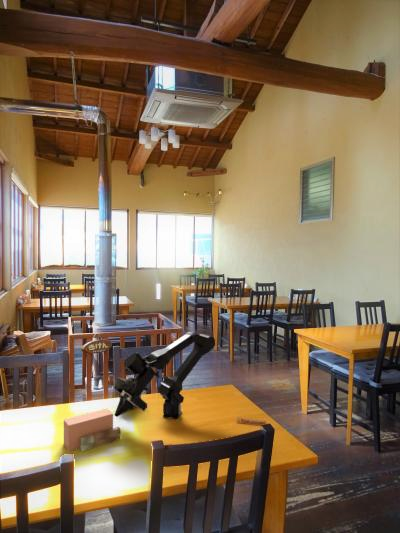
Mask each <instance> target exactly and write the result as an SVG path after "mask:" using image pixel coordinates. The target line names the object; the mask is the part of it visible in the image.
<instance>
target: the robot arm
mask: <svg viewBox="0 0 400 533" xmlns="http://www.w3.org/2000/svg"><path fill="white" fill-rule="evenodd" d="M192 344H193V349H192V350H191V352H190V353H189V354H188V356H186V358H185V360H184V361H183V362H181V365H180V366H179V367H178V369H177V370H176V371H175V372H174V374H173V375H172V376H167V375H166V376H165V377H164V379H163V380H162V381H161V382H160V386H159V387H158V390H159V391H158V392H159V395H160V396H162V399H164V403H163V404H162V407H163V408H162V414H163V415H162V418H166V419H167V418H168V419H174V420H175V419H176V420H178V419H179V417H180V416H181V415H182V413H183V412H182V411H181V409H182V408H181V407H182V403H184V399H185V397H184V396H183V395H182V394H181V391H182V387H183V383H184V382H185V380H186V379H187V377H188V376H189V375H190V373H191V372H192V370H193V369H194V368H195V367H196V365H197V364H198V362H199V361H200V360H201V358H202V357H203V356H205V355H206V354H208V353H210V352H211V351H212V350H213V349H214V348H215V346H216V339H215V337H214V336H212V335H210V334H209V335H208V334H206V333H200V334H198V333H195V332H193V331H187V332H185V334H184V335H183V336H181V337H179V338H178V339H176V340H174V342H172V343H171V344H169V345H167V346H166V347H164V348H161V349H157V350H155V351H152V352H150V353H149V354H148V355H146V356H144V357H142V355H141V354H140V353H138V352H137V351H135V352H134V353H133V354H130V355H129V356H127V357H126V359H125V360H124V362H123V366H124V367H125V368H126V369H128V371H130V372H131V373H132V374H133V375H134V376H135V375H136V376H135V377H132V378H131V379H130V380H128V378H123V377H119V376H118V377H117V380H116V382H115V385H114V386H113V389H114V390H116V391H117V392H118V396H119V401H118V405H117V407H116V409H115V412H114V417H116V418H117V417H119V416H122V415H123V414H125V413H126V412H128V411H130V409H132V408H134V409H136V408H137V407H138V408H139V409H140V410H141V411H143V412H145V411H146V410H147V408H148V403H147V402H146V401H145V400H143V399H142V397H141V398H140V397H139V396H140V395H141V396H142V394H143V393H144V391H145V392H147V391H148V386H149V384H150V383H151V382H152V380H153V379H154V377H155V378H156V379H160V374H159V373H160V371H159V370H163V369H165V368H166V366H168V364H169V363H170V362H171V360H172V358H174V357H175V356H177V354H179V353H180V352H182V351H183V350H185V349H186V348H187V347H189V346H191V345H192ZM134 378H135V379H134ZM120 393H121V394H120ZM135 405H136V406H135Z"/></svg>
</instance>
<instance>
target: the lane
mask: <svg viewBox="0 0 400 533" xmlns="http://www.w3.org/2000/svg"><path fill="white" fill-rule="evenodd" d="M118 440H119V441H120V440H121V428H120V427H119V426H116V427H113V429H109V430H106V431H102V432H99V433H96V434H92V435H89V436H85V437H82V438H80V448H79V449H80V450H81V452H84V451H87V450H90V449H94V448H97V447H100V446H102V445H105V444H109V443H112V442H116V441H118Z"/></svg>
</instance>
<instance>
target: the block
mask: <svg viewBox="0 0 400 533" xmlns="http://www.w3.org/2000/svg"><path fill="white" fill-rule="evenodd" d="M113 428H114V413H113V412H112V411H111V410H110V409H108V408H103V409H100V410H95V411H92V412H89V413H88V412H87V413H83V414H80V415H77V416H76V415H75V416H72V417H71V416H70V417H68V418H65V419H63V445H64V446H65V448H66V450H67V451H68V452H71V451H74V450H78V449H80V438H82V437H85V436H89V435H92V434H96V433H99V432H102V431H106V430H109V429H113Z"/></svg>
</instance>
